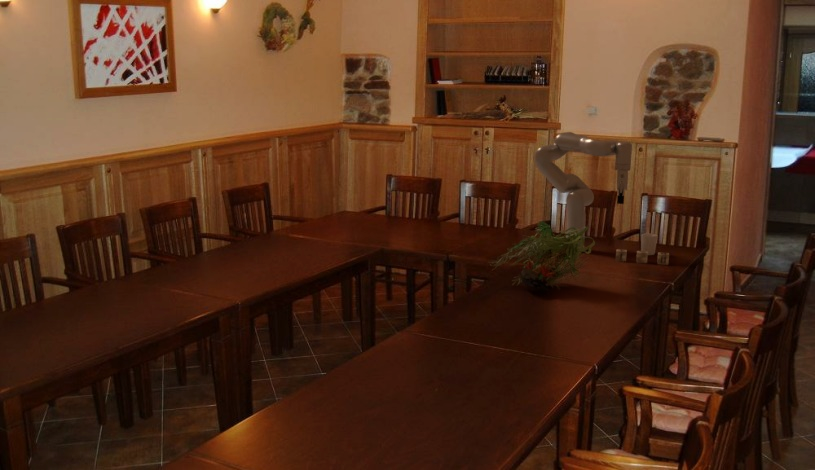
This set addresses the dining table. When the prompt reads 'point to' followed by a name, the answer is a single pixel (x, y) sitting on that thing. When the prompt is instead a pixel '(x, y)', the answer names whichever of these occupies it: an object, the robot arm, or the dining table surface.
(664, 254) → the marked block right
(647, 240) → the white cup
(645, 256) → the plain maple block
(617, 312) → the dining table surface
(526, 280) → the plant
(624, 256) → the marked block left
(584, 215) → the robot arm
